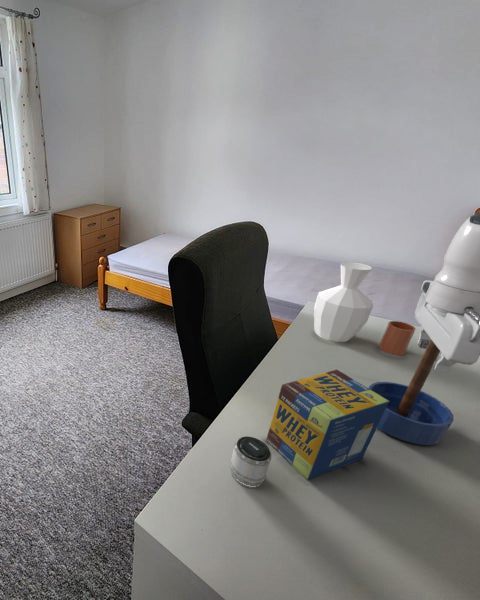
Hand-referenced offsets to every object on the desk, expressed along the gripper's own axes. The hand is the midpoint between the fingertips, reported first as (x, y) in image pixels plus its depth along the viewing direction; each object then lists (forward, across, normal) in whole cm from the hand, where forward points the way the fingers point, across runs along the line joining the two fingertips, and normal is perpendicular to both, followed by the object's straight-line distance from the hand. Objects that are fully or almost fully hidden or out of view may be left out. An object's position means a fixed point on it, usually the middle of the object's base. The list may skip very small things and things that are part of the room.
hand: (430, 358), depth 71 cm
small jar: (+18, -31, +30) cm, 47 cm away
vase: (+18, +38, +9) cm, 43 cm away
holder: (+18, +36, -6) cm, 41 cm away
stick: (+17, 0, 0) cm, 17 cm away
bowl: (+18, 0, 0) cm, 18 cm away
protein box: (+18, -18, +18) cm, 31 cm away
